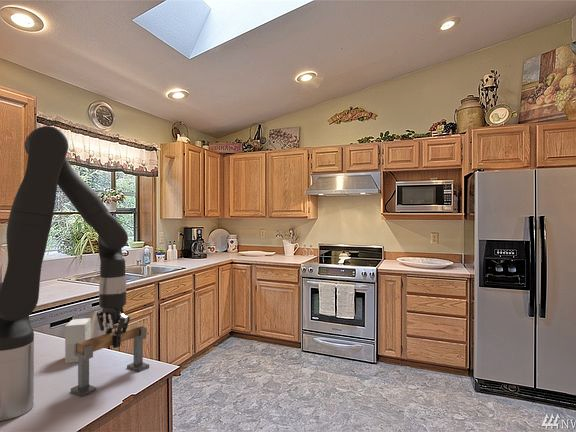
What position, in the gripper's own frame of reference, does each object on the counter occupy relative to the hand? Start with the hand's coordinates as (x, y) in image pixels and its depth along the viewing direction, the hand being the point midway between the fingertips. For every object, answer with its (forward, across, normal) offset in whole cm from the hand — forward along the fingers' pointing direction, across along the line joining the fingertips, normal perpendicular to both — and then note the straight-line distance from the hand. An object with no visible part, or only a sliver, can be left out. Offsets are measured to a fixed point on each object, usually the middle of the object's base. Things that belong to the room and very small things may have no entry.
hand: (112, 345), depth 107 cm
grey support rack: (+10, 0, 0) cm, 10 cm away
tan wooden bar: (-1, 0, 0) cm, 1 cm away
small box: (+10, -26, +4) cm, 28 cm away
